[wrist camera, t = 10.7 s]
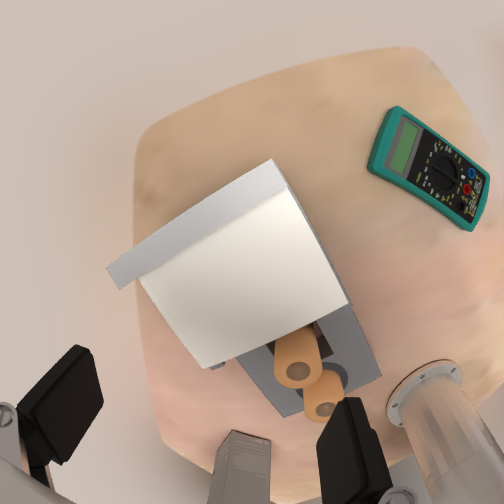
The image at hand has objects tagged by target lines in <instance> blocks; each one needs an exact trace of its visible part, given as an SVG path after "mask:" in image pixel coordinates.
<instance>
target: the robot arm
mask: <svg viewBox="0 0 504 504" xmlns="http://www.w3.org/2000/svg"><path fill="white" fill-rule="evenodd" d="M461 384H462V371H461V370H460V368H459V367H458V366H457V365H456V363H454V362H452V361H447V360H443V361H437V362H433V363H430V364H428V365H426V366H424V367H422V368H420V369H418V370H417V371H415V372H414V373H412V374H411V375H410V376H408V377H407V378H406V379H405V380H404V381H403V382H402V383H401V384H400V385H399V386H398V387H397V388H396V390H395V391H394V392H393V394H392V395H391V397H390V399H389V401H388V404H387V411H386V412H387V416H388V418H389V421H390V422H391V423H392V424H393V425H395V426H397V427H404V429H405V431H406V434H407V436H408V439H409V441H410V444H411V447H412V449H413V452H414V454H415V457H416V459H417V462H418V465H419V468H420V470H421V473H422V476H423V479H424V482H425V485H426V488H427V491H428V493H429V496H430V499H431V501H432V503H433V504H504V453H503V452H502V450H501V448H500V447H499V445H498V444H497V442H496V440H495V439H494V437H493V435H492V434H491V432H490V431H489V429H488V427H487V426H486V424H485V423H484V422H483V420H482V418H481V417H480V415H479V414H478V412H477V411H476V409H475V408H474V406H473V405H472V403H471V402H470V400H469V399H468V398H467V396H466V395H465V393H464V392H463V390H462V389H461V388H460V387H461ZM103 403H104V399H103V395H102V392H101V388H100V384H99V380H98V376H97V372H96V368H95V362H94V358H93V355H92V354H91V353H90V350H89V349H87V348H85V347H82V346H80V345H77V344H76V345H74V346H73V347H72V348H71V349H70V350H69V351H68V352H67V353H66V354H65V355H64V356H63V357H62V358H61V359H60V360H59V361H58V362H57V363H56V364H55V365H54V366H53V367H52V368H51V369H50V370H49V371H48V372H47V373H46V374H45V375H44V376H43V377H42V378H41V379H40V380H39V381H38V382H37V384H36V385H35V386H34V387H33V388H32V389H31V390H30V391H29V392H28V393H27V394H26V395H25V396H24V398H23V399H22V400H21V401H20V402H19V403H18V404H17V407H16V408H14V407H13V406H12V405H11V404H9V403H6V402H0V504H76V503H74V502H72V501H70V500H69V499H67V498H65V497H63V496H61V495H60V494H58V493H56V492H55V489H54V485H53V482H52V478H51V474H50V470H49V465H48V464H49V462H50V461H51V460H53V461H54V462H56V463H57V464H59V465H61V466H62V464H63V463H64V462H67V461H68V460H69V459H70V457H71V456H72V454H73V452H74V450H75V449H76V447H77V446H78V444H79V442H80V441H81V439H82V438H83V436H84V434H85V433H86V431H87V430H88V428H89V427H90V425H91V423H92V422H93V420H94V419H95V417H96V416H97V414H98V412H99V411H100V409H101V408H102V406H103ZM316 450H317V458H318V467H319V475H320V484H321V494H322V503H323V504H418V498H417V495H416V493H415V492H414V491H413V490H412V489H410V488H408V487H405V486H396V487H393V484H392V481H391V477H390V474H389V471H388V467H387V464H386V461H385V458H384V455H383V451H382V448H381V445H380V442H379V439H378V436H377V433H376V431H375V430H374V429H371V427H370V424H369V421H368V418H367V415H366V412H365V409H364V406H363V403H362V401H361V399H360V398H359V397H344V398H343V400H342V401H338V403H337V405H336V407H335V409H334V411H333V413H332V415H331V417H330V419H329V421H328V423H327V424H326V426H325V428H324V430H323V432H322V434H321V436H320V437H319V439H318V441H317V445H316Z"/></svg>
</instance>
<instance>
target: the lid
mask: <svg viewBox="0 0 504 504" xmlns="http://www.w3.org/2000/svg"><path fill="white" fill-rule="evenodd" d="M287 187H288V186H287V184H286V182H285V180H284V179H283V177H282V175H281V174H280V172H279V170H278V169H277V167H276V165H275V164H274V162H273V160H272V159H270V160H268V161H266V162H265V163H263V164H261V165H259V166H258V167H256V168H254V169H253V170H251V171H249V172H248V173H246V174H244V175H242V176H241V177H239V178H237V179H236V180H234V181H233V182H231V183H229V184H228V185H226V186H224V187H223V188H221V189H220V190H218V191H216V192H215V193H213V194H212V195H210V196H208V197H207V198H205V199H204V200H202V201H201V202H199V203H197V204H196V205H194V206H193V207H191V208H190V209H188V210H187V211H185V212H184V213H182V214H181V215H179V216H178V217H176V218H175V219H173V220H172V221H170V222H169V223H167V224H166V225H164V226H163V227H162V228H160V229H159V230H157V231H156V232H154V233H153V234H151V235H150V236H149V237H147V238H146V239H144V240H143V241H142V242H140V243H139V244H137V245H136V246H135V247H133V248H132V249H130V250H129V251H128V252H126V253H125V254H124V255H122V256H121V257H120V258H118V259H117V260H116V261H114V262H113V263H112V264H110V265H109V266H108V267H106V269H107V271H108V272H109V274H110V276H111V277H112V279H113V281H114V282H115V284H116V285H117V287H118V289H121V288H123V287H124V286H126V285H127V284H129V283H130V282H132V281H133V280H135V279H137V278H138V279H139V281H140V283H141V284H142V286H143V287H144V289H145V290H146V292H147V293H148V295H149V296H150V298H151V299H152V301H153V302H154V304H155V305H156V307H157V308H158V310H159V311H160V313H161V314H162V315H163V317H164V318H165V320H166V321H167V322H168V324H169V325H170V327H171V328H172V329H173V331H174V332H175V334H176V335H177V336H178V338H179V339H180V340H181V342H182V343H183V344H184V346H185V347H186V348H187V350H188V351H189V352H190V353H191V355H192V356H193V357H194V359H195V360H196V361H197V362H198V364H199V365H200V366H201V367H202V369H206V368H209V367H211V366H214V365H216V364H219V363H221V362H224V361H226V360H229V359H231V358H234V357H236V356H239V355H241V354H243V353H246V352H248V351H251V350H253V349H255V348H258V347H260V346H262V345H264V344H267V343H269V342H271V341H273V340H275V339H278V338H280V337H282V336H284V335H286V334H288V333H291V332H293V331H295V330H297V329H299V328H301V327H303V326H305V325H307V324H309V323H311V322H313V321H315V320H317V319H319V318H321V317H323V316H325V315H327V314H329V313H331V312H333V311H335V310H337V309H338V308H340V307H342V306H344V305H346V304H348V301H347V299H346V297H345V294H344V292H343V290H342V288H341V286H340V284H339V282H338V280H337V278H336V276H335V274H334V272H333V270H332V268H331V267H330V265H329V263H328V261H327V259H326V257H325V255H324V253H323V251H322V249H321V247H320V245H319V244H318V242H317V240H316V238H315V236H314V234H313V232H312V231H311V229H310V227H309V225H308V223H307V221H306V220H305V218H304V216H303V214H302V212H301V211H300V209H299V207H298V205H297V204H296V202H295V200H294V198H293V197H292V195H291V193H290V191H289V190H288V188H287Z"/></svg>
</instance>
